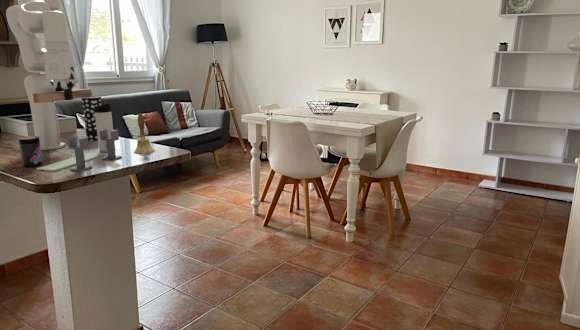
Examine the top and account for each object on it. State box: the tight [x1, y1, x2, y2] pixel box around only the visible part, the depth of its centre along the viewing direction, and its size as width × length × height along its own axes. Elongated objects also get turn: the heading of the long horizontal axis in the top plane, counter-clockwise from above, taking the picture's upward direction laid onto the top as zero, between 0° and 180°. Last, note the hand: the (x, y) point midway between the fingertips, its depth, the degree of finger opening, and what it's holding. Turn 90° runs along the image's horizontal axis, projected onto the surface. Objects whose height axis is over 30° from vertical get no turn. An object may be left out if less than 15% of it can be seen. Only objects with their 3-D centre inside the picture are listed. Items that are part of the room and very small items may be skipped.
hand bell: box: [133, 113, 155, 155], centre depth 181 cm, size 8×8×16 cm
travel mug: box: [94, 103, 116, 154], centre depth 181 cm, size 6×7×20 cm
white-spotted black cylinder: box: [81, 96, 103, 142], centre depth 207 cm, size 8×8×20 cm
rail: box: [33, 88, 93, 103], centre depth 160 cm, size 3×24×3 cm, turn 162°
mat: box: [36, 152, 107, 172], centre depth 166 cm, size 8×26×1 cm, turn 162°
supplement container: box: [17, 135, 44, 168], centre depth 161 cm, size 7×7×10 cm
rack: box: [66, 129, 123, 173], centre depth 161 cm, size 6×21×11 cm, turn 162°
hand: (64, 99), depth 160 cm, fingers closed on rail, 3 cm apart
